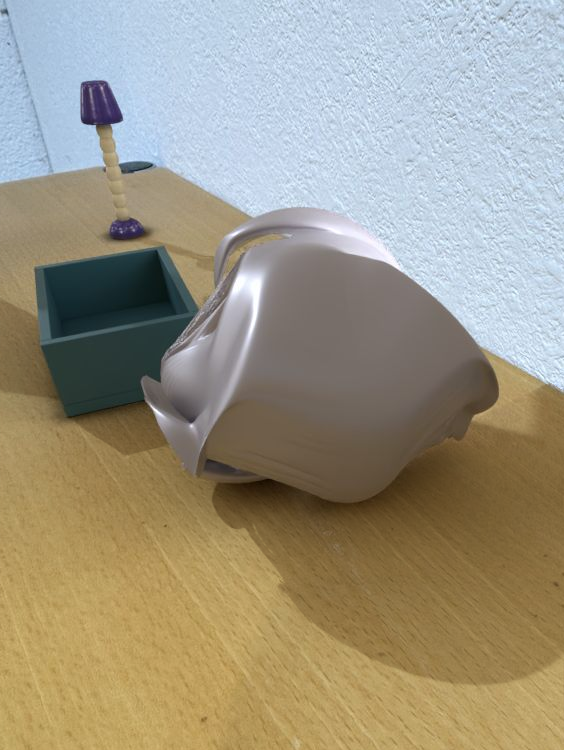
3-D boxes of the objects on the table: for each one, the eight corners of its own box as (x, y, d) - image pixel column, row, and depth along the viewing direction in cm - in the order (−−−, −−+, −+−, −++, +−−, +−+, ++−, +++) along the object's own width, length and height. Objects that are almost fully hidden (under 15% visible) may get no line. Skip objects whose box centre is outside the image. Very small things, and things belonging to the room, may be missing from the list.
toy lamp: (133, 225, 90) (97, 77, 80) (157, 231, 88) (122, 79, 78) (103, 236, 87) (61, 83, 77) (126, 242, 85) (86, 85, 75)
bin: (55, 329, 66) (33, 266, 62) (177, 306, 69) (164, 245, 65) (66, 417, 53) (40, 345, 49) (216, 384, 56) (201, 314, 53)
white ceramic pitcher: (193, 593, 40) (158, 391, 29) (137, 402, 50) (96, 199, 39) (493, 511, 46) (557, 321, 35) (389, 357, 57) (414, 172, 46)
